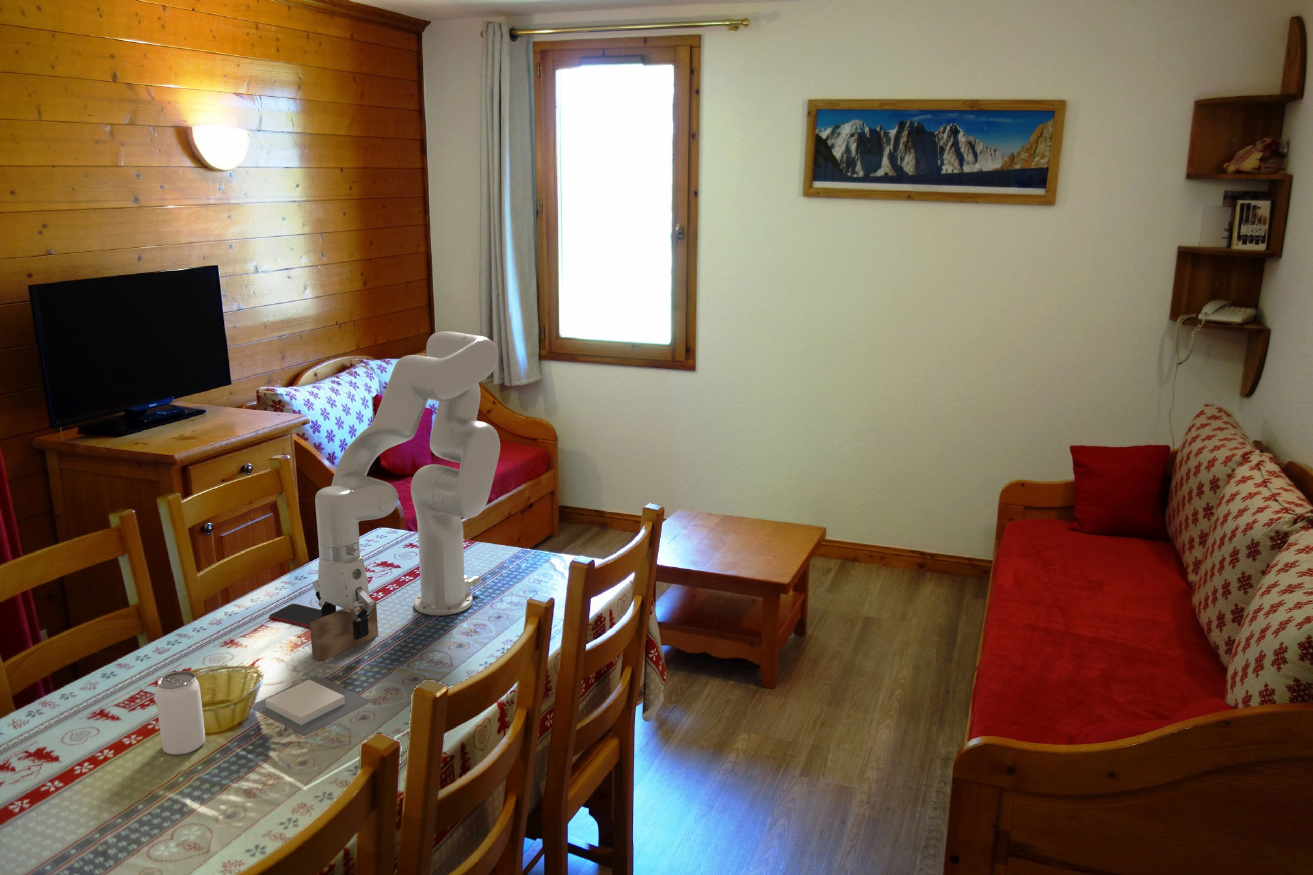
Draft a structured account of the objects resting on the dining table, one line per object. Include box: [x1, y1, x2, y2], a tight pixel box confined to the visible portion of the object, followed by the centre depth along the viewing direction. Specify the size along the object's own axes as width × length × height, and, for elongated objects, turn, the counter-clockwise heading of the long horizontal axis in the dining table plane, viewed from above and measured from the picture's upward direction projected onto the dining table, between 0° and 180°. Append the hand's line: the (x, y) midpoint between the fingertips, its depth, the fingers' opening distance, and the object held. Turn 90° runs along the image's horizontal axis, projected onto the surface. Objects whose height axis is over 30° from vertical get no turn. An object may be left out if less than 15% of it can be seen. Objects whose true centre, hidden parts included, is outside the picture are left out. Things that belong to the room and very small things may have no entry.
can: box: [155, 670, 206, 756], centre depth 161 cm, size 6×6×12 cm
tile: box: [265, 680, 345, 726], centre depth 174 cm, size 2×10×9 cm
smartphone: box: [268, 603, 321, 629], centre depth 210 cm, size 7×1×15 cm
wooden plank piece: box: [309, 599, 379, 663], centre depth 196 cm, size 14×2×8 cm, turn 146°
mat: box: [251, 674, 373, 737], centre depth 175 cm, size 14×16×1 cm
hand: (345, 630), depth 196 cm, fingers open, 9 cm apart
